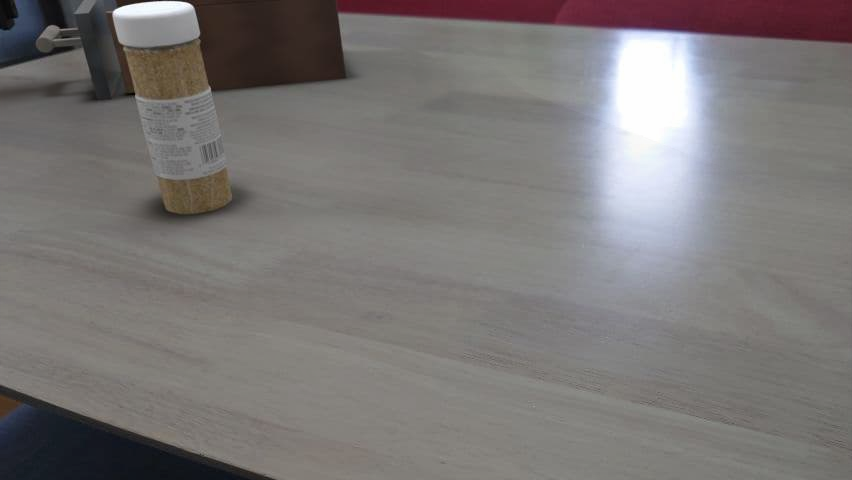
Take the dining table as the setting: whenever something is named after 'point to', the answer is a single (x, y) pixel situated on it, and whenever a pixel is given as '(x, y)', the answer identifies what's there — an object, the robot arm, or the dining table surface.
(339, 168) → the dining table surface
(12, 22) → the robot arm
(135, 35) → the seasoning bottle
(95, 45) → the drawer
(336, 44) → the cabinet
